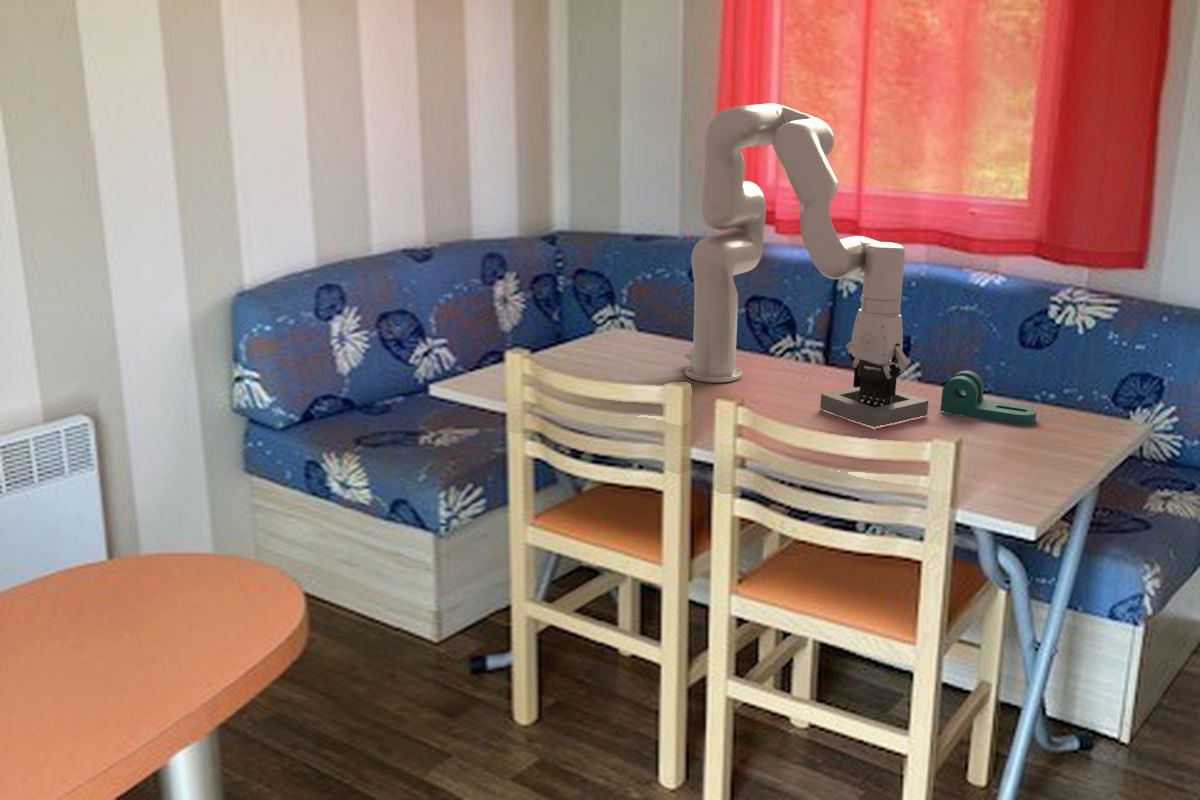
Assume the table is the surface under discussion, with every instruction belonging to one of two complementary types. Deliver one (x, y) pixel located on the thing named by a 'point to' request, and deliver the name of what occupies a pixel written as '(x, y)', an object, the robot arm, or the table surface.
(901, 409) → the frame
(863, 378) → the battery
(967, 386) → the bracket
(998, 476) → the table surface
